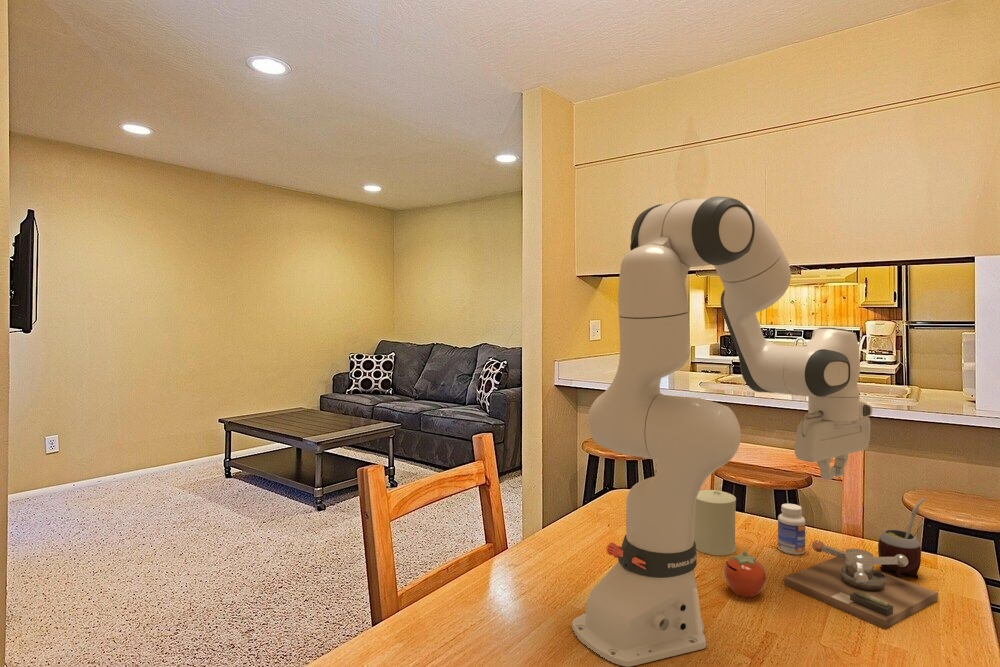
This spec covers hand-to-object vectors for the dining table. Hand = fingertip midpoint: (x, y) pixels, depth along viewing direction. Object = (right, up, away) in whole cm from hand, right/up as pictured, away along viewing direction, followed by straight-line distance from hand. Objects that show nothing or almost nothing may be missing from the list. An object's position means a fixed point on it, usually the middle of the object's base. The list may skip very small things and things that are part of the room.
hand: (832, 477), depth 117 cm
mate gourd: (+13, -19, -1) cm, 23 cm away
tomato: (-21, -20, -8) cm, 30 cm away
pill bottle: (-3, -19, +11) cm, 22 cm away
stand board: (0, -20, -8) cm, 21 cm away
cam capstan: (-1, -18, -7) cm, 19 cm away
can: (-19, -19, +13) cm, 30 cm away
